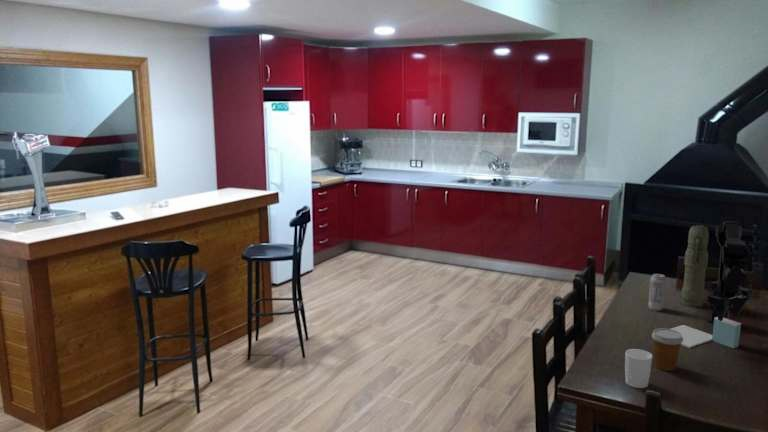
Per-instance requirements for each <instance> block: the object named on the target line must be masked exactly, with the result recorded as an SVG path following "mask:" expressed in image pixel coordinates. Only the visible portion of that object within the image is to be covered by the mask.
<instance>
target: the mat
mask: <svg viewBox="0 0 768 432" xmlns="http://www.w3.org/2000/svg"><path fill="white" fill-rule="evenodd" d="M670 329H671V330H675V331H677V332H679V333H681V334H682V338H683V341H682V343H681V346H683V347H686V348H689V349H691V348H694V347H696V346H699V345H700V346H701V345H703V344H706V343H709V342H711V341H712V336H713V334H710V333H708V332H704V331H703V330H700V329H696V328H693V327H691V326H688V325H684V324H682V325H679V326H678V325H677V326H675V327H672V328H670Z"/></svg>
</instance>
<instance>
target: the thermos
mask: <svg viewBox="0 0 768 432" xmlns="http://www.w3.org/2000/svg"><path fill="white" fill-rule="evenodd" d="M689 228H690V229H689V231H688V235H687V237H688V238H687V244H688V245H687V249H686V251H685V253H684V263H683V264H684V266H685V267H684V275H683V277H684V278H683V287H682V289H681V293H680V294H681V295H680V297H681V300H680V303H681V305H682V306H685V307H690V308H703V306H704V301H705V297H706V296H705V295H706V294H705V288H704V284H705V282H706V281H705V279H706V270H707V268H708V264H709V263H708V261H709V253H708V245H709V238H710V232H709V229H708V227H707V226H705V225H701V224H700V225H699V224H694V225H692V226H691V227H689Z"/></svg>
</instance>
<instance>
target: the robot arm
mask: <svg viewBox="0 0 768 432" xmlns="http://www.w3.org/2000/svg"><path fill="white" fill-rule="evenodd" d="M742 234H743V227H742V225H741V224H740V222H738V221H728V220H726V221H724V222H722V223H719V224H717V226H716V228H715V237H716V241H717V243H718V245H719V246H720V254H719V266H718V267H719V268H718V278H717V280H716V281H712V280H710V281H709V280H707V281H704V291H706V292H707V293H710V292H712V293H710V294H708V295H707V296H706V297H707V298H706V302H707V303H708V307H709V309H711V311H712V312H711V318H709V319H707V322H709V323H712V324H714V318H715V317H718V320H719V321H722V320H723V318H726V319H730V318H729V315H730V311H731V312H732V313H733V317H738V315H739V314H740V312H741V311H742V309H744V307H745V306H746V305H747V303H748V302H750V300H751V299H753V296H754V295H753V293H754V292H753V291H752V290H751V288H750V289H749V288H747V287H743V286H741V285H744V283H745V282H746V279H747V275H746V273H745V271H744V269H743V267H744V266H746V267H748V266H749V264H750V262H751V255H750V254H751V252H750V250H749V247H747V245H746V242H745V241H743V240H741V238H742Z"/></svg>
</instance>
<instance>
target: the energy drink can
mask: <svg viewBox="0 0 768 432" xmlns="http://www.w3.org/2000/svg"><path fill="white" fill-rule="evenodd" d="M665 276H666V275H664V274H660V273H653V274H652V276H651V277H650V279H649V291H648V292H649V293H648V305H647V307H648V308H649V309H650V310H652V311H655V312H661V311H662V310H663V309H665V298H666V297H665V296H666V285H667V284H666V282H667V279H666V277H665Z"/></svg>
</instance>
